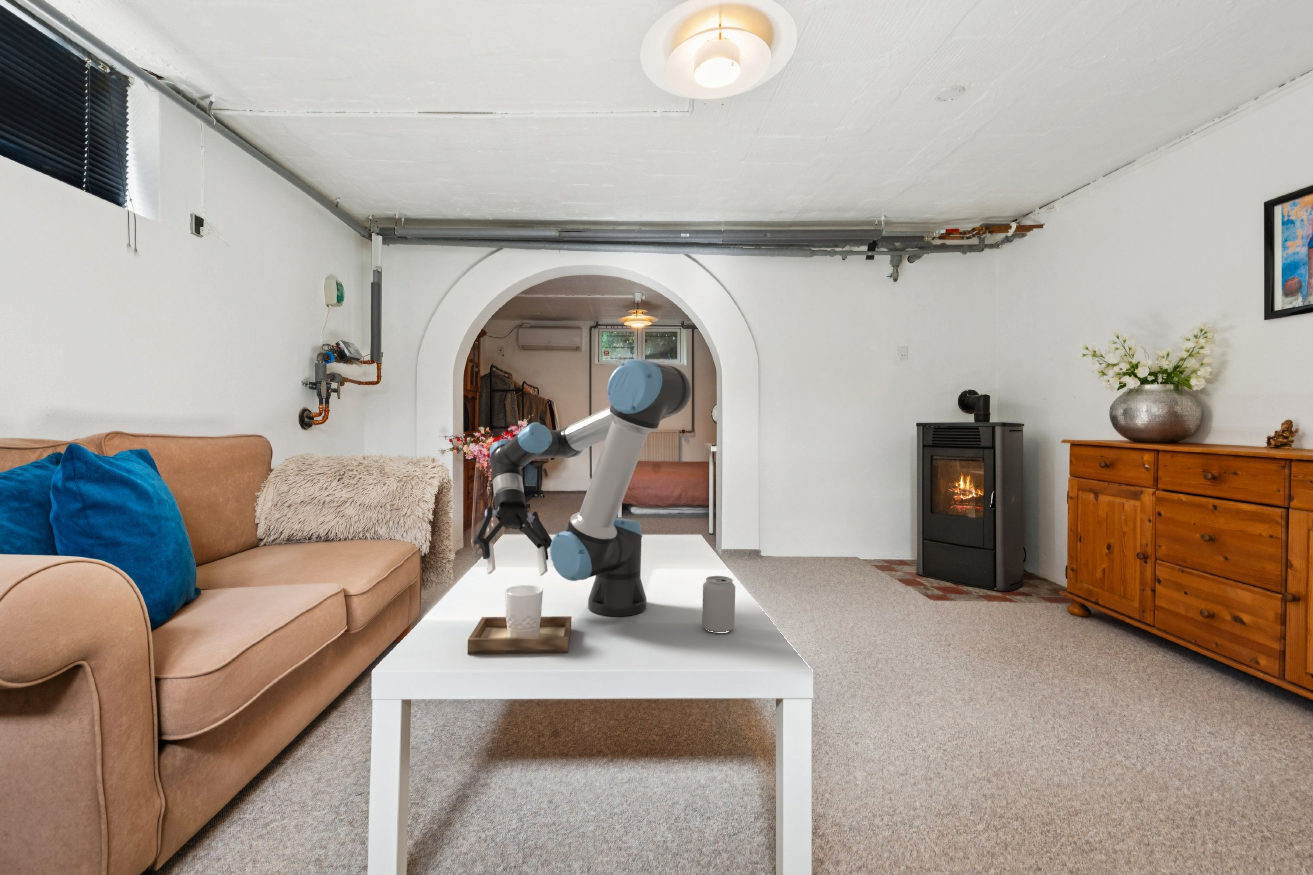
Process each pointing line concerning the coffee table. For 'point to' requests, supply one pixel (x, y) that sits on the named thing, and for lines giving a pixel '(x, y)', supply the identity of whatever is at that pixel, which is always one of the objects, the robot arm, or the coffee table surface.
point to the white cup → (523, 610)
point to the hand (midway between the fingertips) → (518, 572)
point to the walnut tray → (495, 641)
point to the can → (718, 604)
